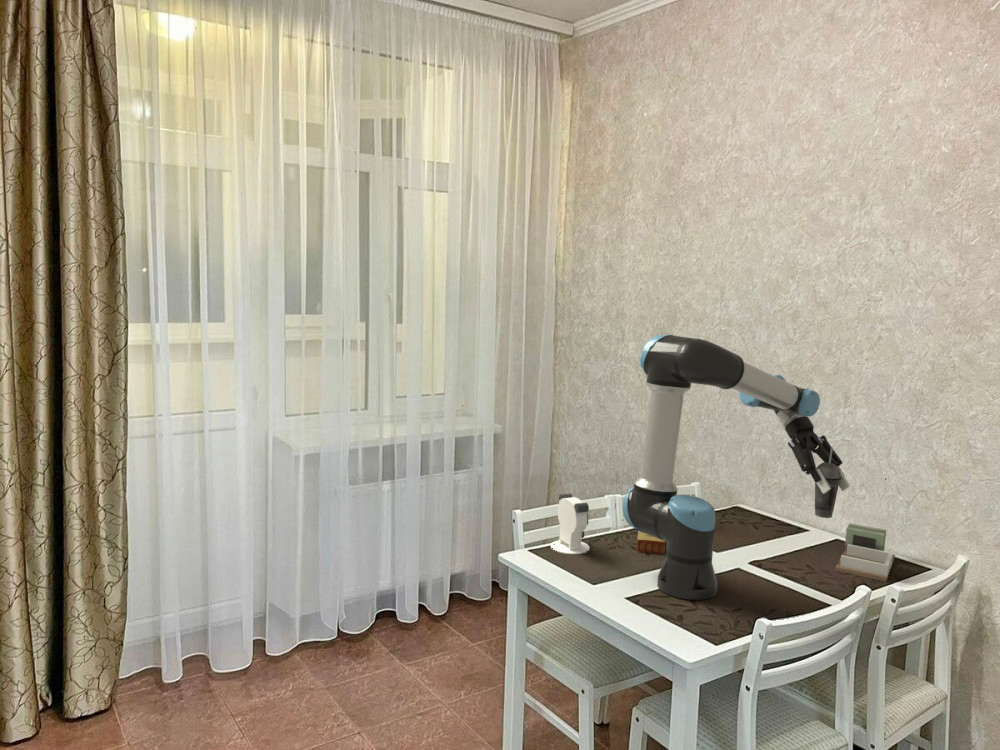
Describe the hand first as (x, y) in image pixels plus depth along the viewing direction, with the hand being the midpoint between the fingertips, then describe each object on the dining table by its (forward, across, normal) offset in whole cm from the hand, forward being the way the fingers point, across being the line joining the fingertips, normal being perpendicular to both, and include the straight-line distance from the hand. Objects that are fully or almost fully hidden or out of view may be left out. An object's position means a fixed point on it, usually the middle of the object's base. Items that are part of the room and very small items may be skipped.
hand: (836, 489), depth 219 cm
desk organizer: (+18, -11, -13) cm, 25 cm away
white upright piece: (-13, +61, -45) cm, 77 cm away
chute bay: (+20, -9, -12) cm, 24 cm away
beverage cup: (+4, 0, -9) cm, 9 cm away
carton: (-8, +36, -41) cm, 55 cm away
